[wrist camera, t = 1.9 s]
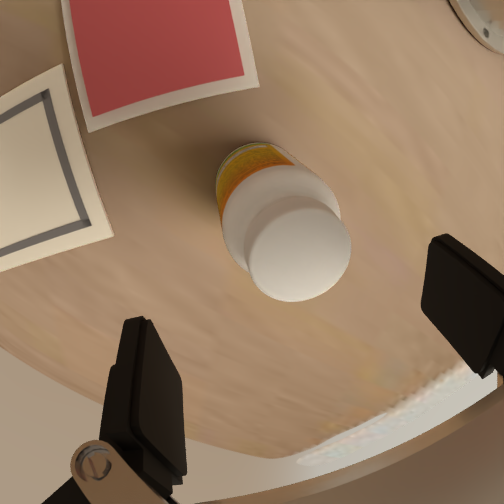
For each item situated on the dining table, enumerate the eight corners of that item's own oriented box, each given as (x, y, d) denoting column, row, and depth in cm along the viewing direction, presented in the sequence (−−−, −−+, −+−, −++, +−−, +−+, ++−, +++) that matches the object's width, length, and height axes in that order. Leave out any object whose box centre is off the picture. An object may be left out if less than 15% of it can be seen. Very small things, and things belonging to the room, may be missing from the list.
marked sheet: (63, 63, 14) (60, 63, 14) (114, 234, 20) (113, 237, 20) (-56, 138, 13) (-59, 139, 13) (-4, 272, 19) (-7, 274, 19)
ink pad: (225, -53, 12) (228, -66, 10) (255, 87, 17) (262, 86, 15) (66, -7, 11) (54, -15, 10) (94, 130, 16) (83, 135, 15)
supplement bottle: (202, 207, 20) (206, 300, 12) (234, 128, 18) (265, 164, 10) (277, 231, 22) (326, 327, 13) (311, 160, 20) (392, 219, 11)
